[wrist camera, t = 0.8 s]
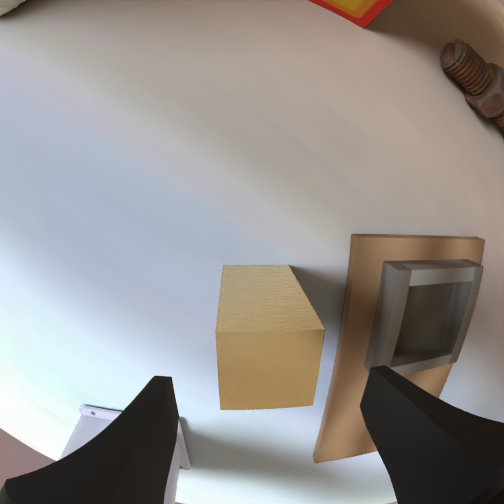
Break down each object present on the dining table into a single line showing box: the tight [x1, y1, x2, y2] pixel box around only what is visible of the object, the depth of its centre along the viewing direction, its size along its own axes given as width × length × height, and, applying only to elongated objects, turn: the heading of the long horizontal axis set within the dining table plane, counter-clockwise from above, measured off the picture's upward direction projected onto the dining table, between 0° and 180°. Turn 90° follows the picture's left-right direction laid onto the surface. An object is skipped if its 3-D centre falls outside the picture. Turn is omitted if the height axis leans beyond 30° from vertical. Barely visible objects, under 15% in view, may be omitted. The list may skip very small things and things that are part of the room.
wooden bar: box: [216, 265, 325, 410], centre depth 15 cm, size 4×4×8 cm
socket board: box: [313, 234, 485, 463], centre depth 20 cm, size 12×22×3 cm, turn 179°
